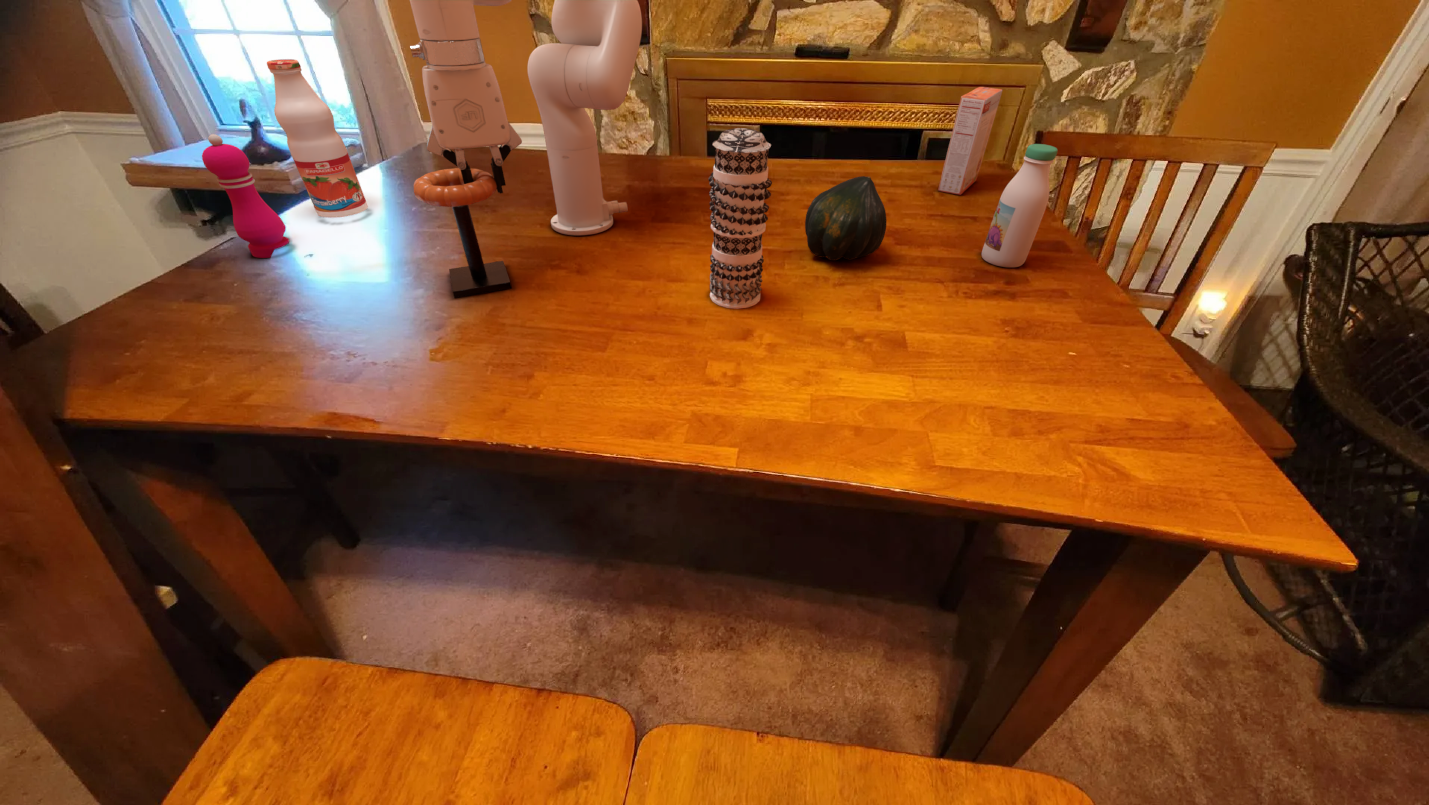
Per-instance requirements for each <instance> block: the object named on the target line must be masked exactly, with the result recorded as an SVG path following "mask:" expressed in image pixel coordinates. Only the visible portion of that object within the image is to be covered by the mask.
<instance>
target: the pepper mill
mask: <svg viewBox="0 0 1429 805" xmlns="http://www.w3.org/2000/svg"><path fill="white" fill-rule="evenodd" d="M207 139H208V140H207V141H208V142H209V144H211V145H210V146H207V147H206V148H205V149H204V150H203V152H202V153H201V160H202V163H203V165H204V167H205V169H206V170H207V171H208V172H210V173H212V174H213V175H214V176H216V178H215V180H216V181H217V183H218V186H219V187H220V188H222V189H224V190H225V192H226V194H227V196H228V198H229V200H230V204H231V207H232V221H233V222H232V223H233V227H234V230H235V232H236V234H237V236H238V237H239V238H240V239H241V240H243V241H245V242H247V243H248V245H247V249H248V250H249V252H250V254H251V255H252V257H254V258H257V259H270V258H272V255H273V253H274V251H275V250H277V249H281V248H283V247H285V246H287V245H288V244H289V242H290V239H289V238H288V237H287V236H285V232H286V229H287V228H286V225H285V222H284V221H283V219H282V217H280V216H279V215H278V213H276V212H275V211H274V210H273V208H272V207H270V206H269V205H268V204H267V203H266V202H265V201H264V199H263V198H262V197H261V195H260V194H259V192H258V191H257V188H256V186H255V182H256V180H255V178H254V177H253V173H252V172H249V169H250V164H251V163H250V160H249V158H248V157H247V155H246V153H245V152H244V151H243V150H242V149H241V148H239V147H237V146H235V145H232V144H228V143H224V141H223V139H222V137H221V136H220V135H218V134H216V133H211V134H210V135H208V137H207Z"/></svg>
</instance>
